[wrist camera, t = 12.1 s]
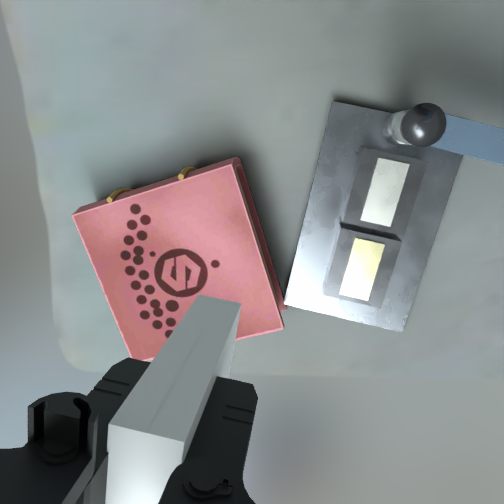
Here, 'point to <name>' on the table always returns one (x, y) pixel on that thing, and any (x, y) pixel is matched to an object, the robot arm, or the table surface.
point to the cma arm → (452, 133)
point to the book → (181, 254)
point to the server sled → (369, 219)
